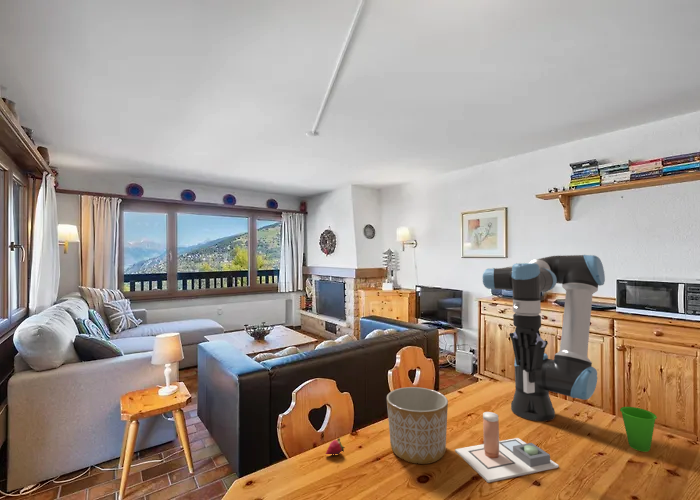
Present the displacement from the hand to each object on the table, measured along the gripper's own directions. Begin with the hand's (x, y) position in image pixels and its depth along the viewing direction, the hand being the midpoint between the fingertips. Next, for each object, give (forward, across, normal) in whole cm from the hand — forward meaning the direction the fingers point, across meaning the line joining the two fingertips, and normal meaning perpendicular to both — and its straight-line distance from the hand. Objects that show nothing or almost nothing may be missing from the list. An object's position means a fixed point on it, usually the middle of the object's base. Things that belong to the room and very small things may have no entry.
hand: (529, 391), depth 103 cm
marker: (+20, -5, -10) cm, 23 cm away
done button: (+19, 0, 0) cm, 19 cm away
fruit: (+21, -20, -56) cm, 63 cm away
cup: (+21, +4, +38) cm, 43 cm away
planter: (+21, -15, -30) cm, 39 cm away
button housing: (+20, 0, 0) cm, 20 cm away
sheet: (+20, -3, -7) cm, 22 cm away
